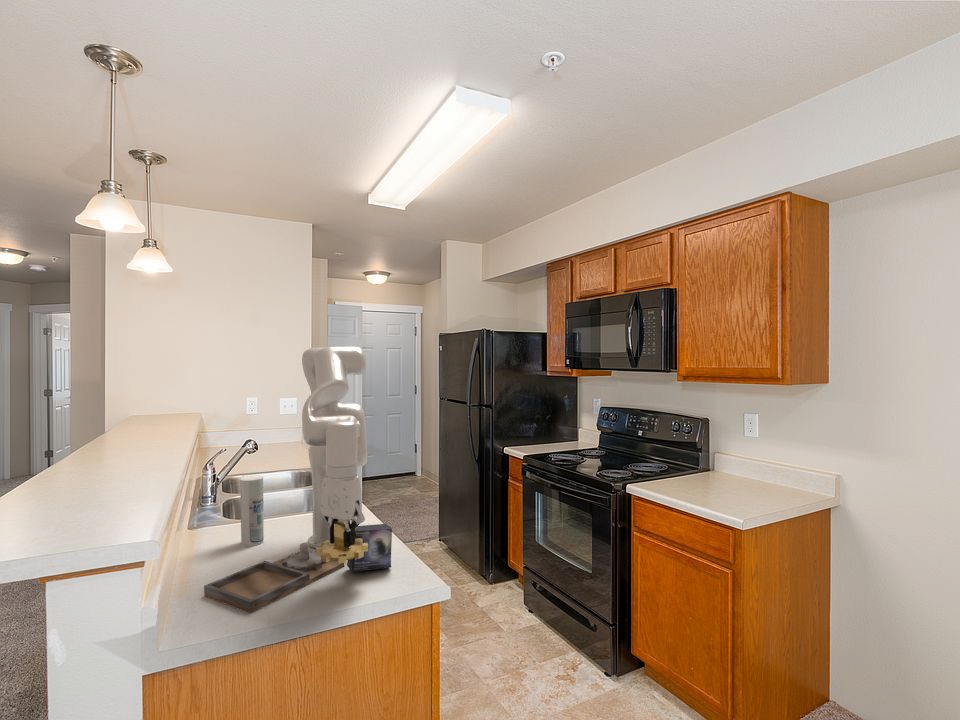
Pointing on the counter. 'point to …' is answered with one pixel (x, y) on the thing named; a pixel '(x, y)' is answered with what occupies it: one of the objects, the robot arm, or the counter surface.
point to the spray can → (252, 510)
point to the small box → (373, 548)
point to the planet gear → (341, 546)
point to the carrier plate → (270, 580)
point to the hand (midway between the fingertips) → (342, 543)
